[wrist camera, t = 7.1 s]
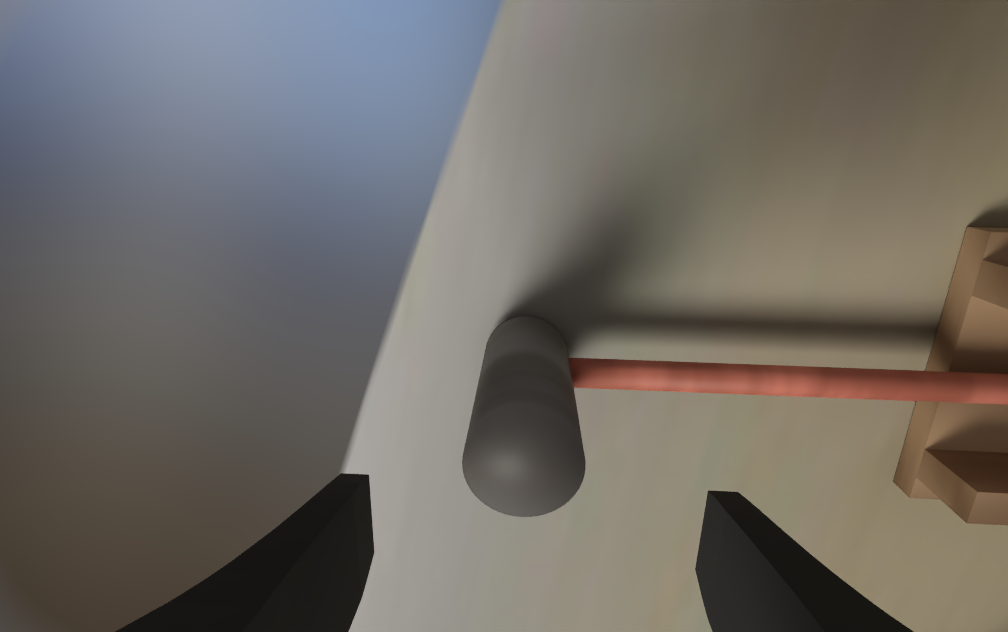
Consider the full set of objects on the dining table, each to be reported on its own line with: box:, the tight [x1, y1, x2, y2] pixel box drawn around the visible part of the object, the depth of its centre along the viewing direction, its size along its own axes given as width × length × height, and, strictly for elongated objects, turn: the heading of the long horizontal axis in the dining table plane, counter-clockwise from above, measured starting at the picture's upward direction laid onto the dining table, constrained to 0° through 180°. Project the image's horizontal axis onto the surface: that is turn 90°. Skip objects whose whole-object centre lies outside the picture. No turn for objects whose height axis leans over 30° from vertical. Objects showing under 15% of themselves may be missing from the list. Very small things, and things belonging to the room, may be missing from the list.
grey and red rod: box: [462, 316, 1008, 517], centre depth 16 cm, size 5×27×7 cm, turn 89°
